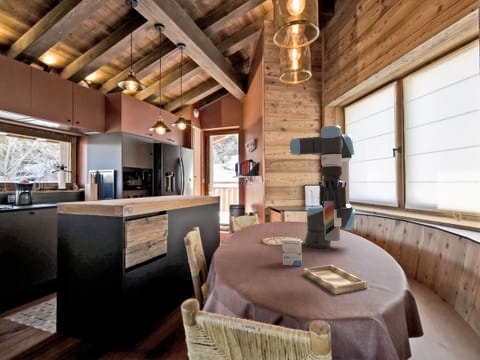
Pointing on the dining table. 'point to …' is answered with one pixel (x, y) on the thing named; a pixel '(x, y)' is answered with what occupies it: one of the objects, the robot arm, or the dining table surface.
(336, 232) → the lotion bottle
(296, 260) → the ink box
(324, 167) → the robot arm
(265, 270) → the dining table surface
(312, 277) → the tray
